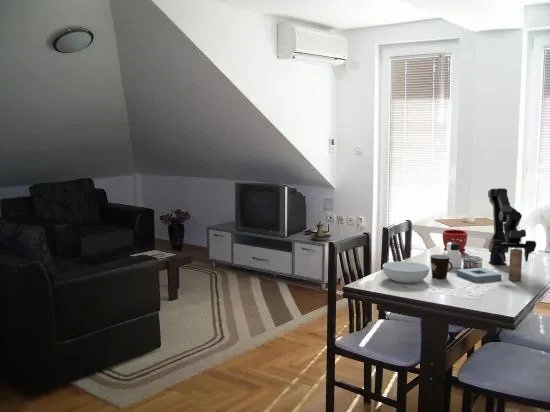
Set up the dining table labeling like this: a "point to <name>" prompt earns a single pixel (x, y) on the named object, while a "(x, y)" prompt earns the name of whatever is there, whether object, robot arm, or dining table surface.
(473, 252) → the dining table surface
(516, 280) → the walnut peg
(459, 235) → the plant pot
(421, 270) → the serving bowl
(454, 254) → the medicine bottle
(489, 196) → the robot arm
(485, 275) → the slate holder block
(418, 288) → the dining table surface
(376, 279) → the dining table surface
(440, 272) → the coffee mug
